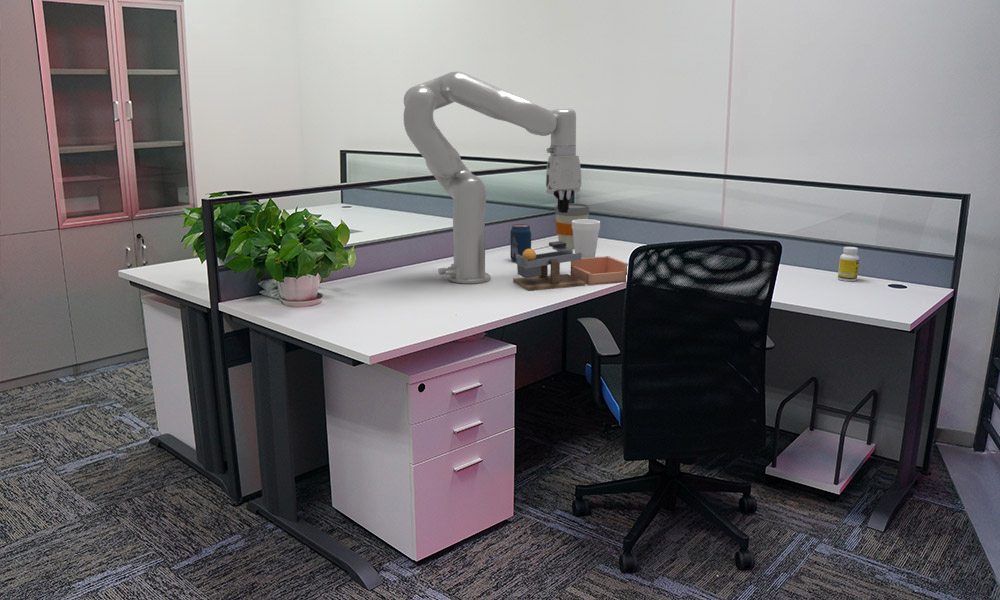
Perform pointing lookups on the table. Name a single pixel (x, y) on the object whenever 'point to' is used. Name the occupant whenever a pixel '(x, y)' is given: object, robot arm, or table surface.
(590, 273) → the bin
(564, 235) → the reusable coffee cup
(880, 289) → the table surface
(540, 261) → the lever
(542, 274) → the lever stand
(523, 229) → the soda can
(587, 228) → the foam cup
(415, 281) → the table surface
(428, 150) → the robot arm
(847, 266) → the supplement bottle
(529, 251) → the ball
